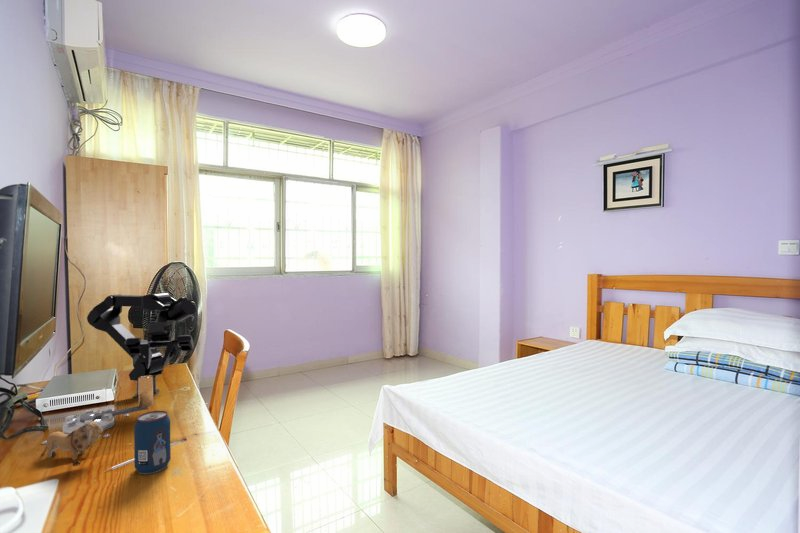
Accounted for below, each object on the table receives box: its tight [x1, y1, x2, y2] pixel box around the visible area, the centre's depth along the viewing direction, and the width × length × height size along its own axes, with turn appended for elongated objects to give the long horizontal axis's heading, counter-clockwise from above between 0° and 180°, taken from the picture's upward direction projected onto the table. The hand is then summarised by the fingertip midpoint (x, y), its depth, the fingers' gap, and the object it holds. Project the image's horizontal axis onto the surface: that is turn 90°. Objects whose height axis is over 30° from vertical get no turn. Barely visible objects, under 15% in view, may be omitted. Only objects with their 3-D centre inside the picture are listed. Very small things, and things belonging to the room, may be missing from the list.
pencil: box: [103, 438, 187, 473], centre depth 95 cm, size 1×19×1 cm, turn 148°
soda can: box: [133, 410, 172, 475], centre depth 89 cm, size 7×7×12 cm
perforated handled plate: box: [62, 375, 154, 434], centre depth 109 cm, size 20×11×12 cm, turn 127°
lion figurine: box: [40, 422, 104, 467], centre depth 92 cm, size 15×5×9 cm, turn 93°
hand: (155, 367), depth 122 cm, fingers open, 4 cm apart
